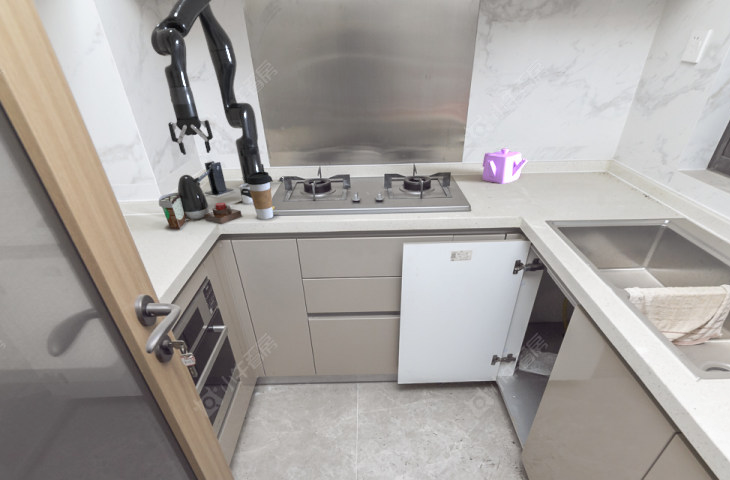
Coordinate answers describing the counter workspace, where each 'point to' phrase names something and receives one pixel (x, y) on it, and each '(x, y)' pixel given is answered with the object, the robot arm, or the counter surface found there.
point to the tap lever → (205, 173)
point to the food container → (173, 210)
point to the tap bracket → (216, 179)
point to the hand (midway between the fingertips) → (196, 153)
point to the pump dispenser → (192, 197)
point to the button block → (222, 215)
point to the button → (220, 206)
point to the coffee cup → (261, 194)
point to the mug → (246, 194)
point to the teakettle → (502, 166)
